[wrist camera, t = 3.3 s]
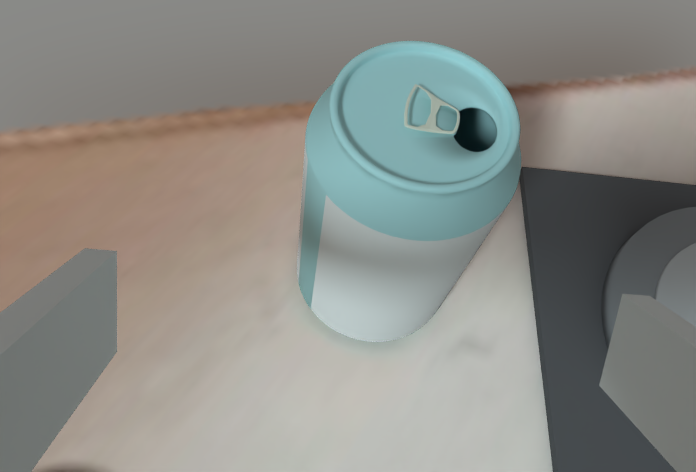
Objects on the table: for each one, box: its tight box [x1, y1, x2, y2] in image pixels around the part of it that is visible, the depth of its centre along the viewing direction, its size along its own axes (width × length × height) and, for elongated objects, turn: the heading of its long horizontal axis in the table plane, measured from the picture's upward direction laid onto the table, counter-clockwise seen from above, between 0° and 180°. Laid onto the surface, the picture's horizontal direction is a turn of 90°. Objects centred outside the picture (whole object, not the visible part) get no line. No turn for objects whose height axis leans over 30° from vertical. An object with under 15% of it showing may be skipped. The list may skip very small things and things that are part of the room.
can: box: [297, 41, 521, 342], centre depth 22 cm, size 7×7×12 cm
